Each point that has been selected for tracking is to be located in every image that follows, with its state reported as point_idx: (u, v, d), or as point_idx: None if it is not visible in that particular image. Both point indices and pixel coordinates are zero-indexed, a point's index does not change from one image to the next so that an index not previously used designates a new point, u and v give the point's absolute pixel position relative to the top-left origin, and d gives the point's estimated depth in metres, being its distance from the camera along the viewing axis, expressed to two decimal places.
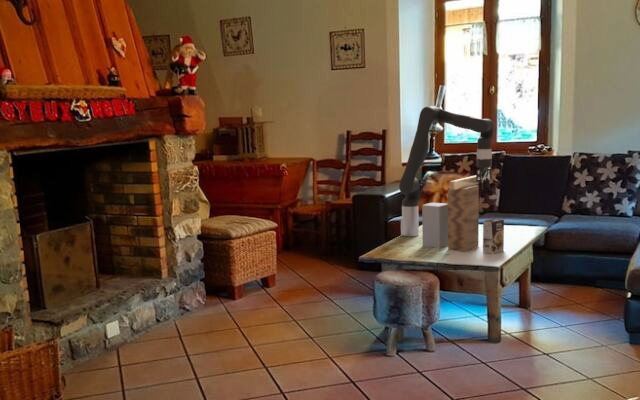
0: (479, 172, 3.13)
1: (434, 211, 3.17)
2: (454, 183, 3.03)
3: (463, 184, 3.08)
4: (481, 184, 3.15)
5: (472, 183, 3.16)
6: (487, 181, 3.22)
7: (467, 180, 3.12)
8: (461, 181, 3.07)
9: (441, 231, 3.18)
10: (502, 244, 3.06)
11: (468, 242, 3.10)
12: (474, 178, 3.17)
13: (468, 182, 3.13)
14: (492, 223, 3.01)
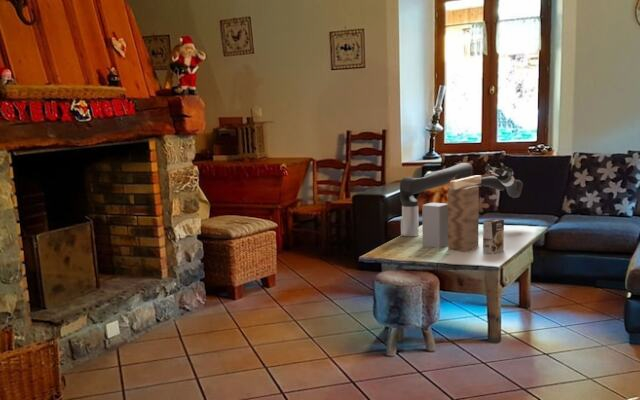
0: (512, 174, 3.41)
1: (434, 211, 3.17)
2: (454, 183, 3.03)
3: (463, 184, 3.08)
4: (504, 169, 3.38)
5: (472, 183, 3.16)
6: (490, 168, 3.44)
7: (467, 180, 3.12)
8: (461, 181, 3.07)
9: (441, 231, 3.18)
10: (502, 244, 3.06)
11: (468, 242, 3.10)
12: (474, 178, 3.17)
13: (468, 182, 3.13)
14: (492, 223, 3.01)
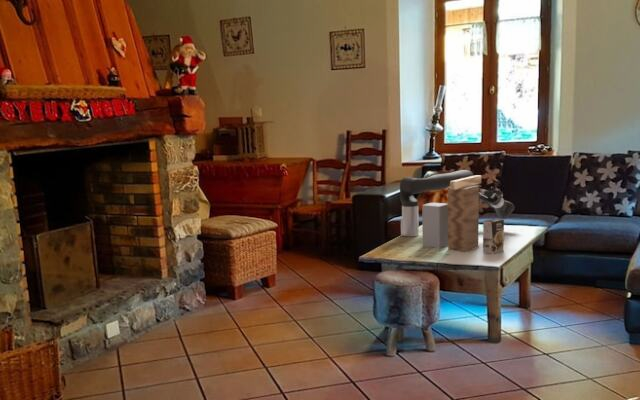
0: (501, 196, 3.33)
1: (434, 211, 3.17)
2: (454, 183, 3.03)
3: (463, 184, 3.08)
4: (494, 191, 3.29)
5: (472, 183, 3.16)
6: (479, 190, 3.35)
7: (467, 180, 3.12)
8: (461, 181, 3.07)
9: (441, 231, 3.18)
10: (502, 244, 3.06)
11: (468, 242, 3.10)
12: (474, 178, 3.17)
13: (468, 182, 3.13)
14: (492, 223, 3.01)
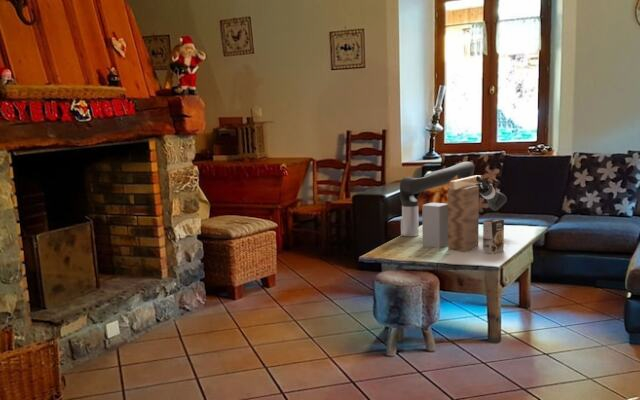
0: (491, 185, 3.22)
1: (434, 211, 3.17)
2: (454, 183, 3.03)
3: (463, 184, 3.08)
4: (479, 181, 3.20)
5: (472, 183, 3.16)
6: None
7: (467, 180, 3.12)
8: (461, 181, 3.07)
9: (441, 231, 3.18)
10: (502, 244, 3.06)
11: (468, 242, 3.10)
12: (474, 178, 3.17)
13: (468, 182, 3.13)
14: (492, 223, 3.01)
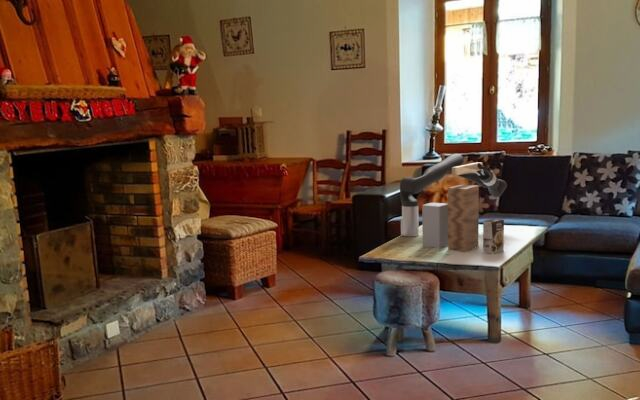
0: (491, 172, 3.33)
1: (434, 211, 3.17)
2: (456, 169, 3.13)
3: (464, 171, 3.19)
4: (480, 167, 3.31)
5: (473, 169, 3.27)
6: None
7: (468, 166, 3.22)
8: (463, 167, 3.17)
9: (441, 231, 3.18)
10: (502, 244, 3.06)
11: (468, 242, 3.10)
12: (475, 165, 3.28)
13: (469, 168, 3.23)
14: (492, 223, 3.01)
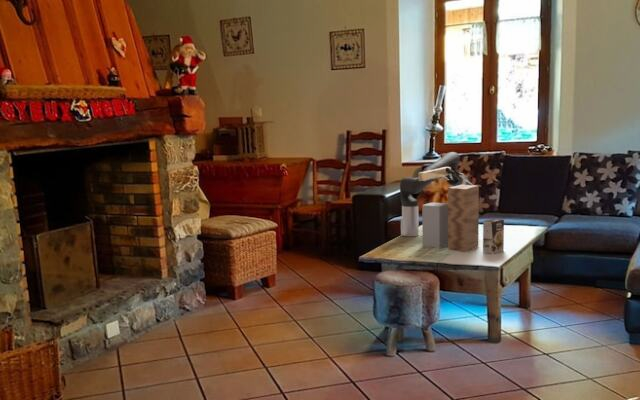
0: (460, 176, 3.27)
1: (434, 211, 3.17)
2: (422, 174, 3.08)
3: (431, 176, 3.13)
4: (449, 172, 3.26)
5: (441, 174, 3.21)
6: None
7: (436, 171, 3.17)
8: (430, 172, 3.12)
9: (441, 231, 3.18)
10: (502, 244, 3.06)
11: (468, 242, 3.10)
12: (443, 169, 3.22)
13: (437, 173, 3.18)
14: (492, 223, 3.01)
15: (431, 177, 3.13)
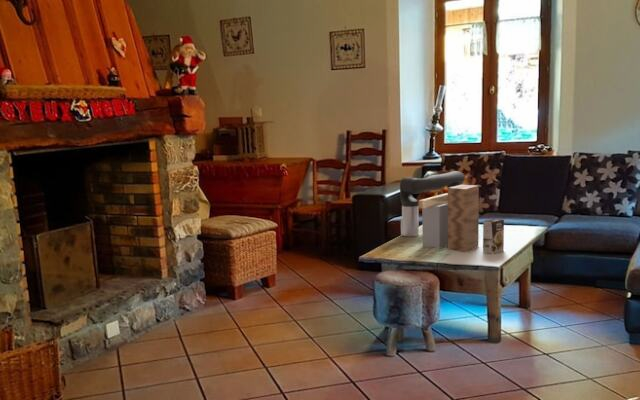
0: None
1: (434, 211, 3.17)
2: (423, 202, 3.10)
3: (432, 203, 3.16)
4: None
5: (442, 201, 3.23)
6: None
7: (436, 199, 3.19)
8: (430, 200, 3.14)
9: (441, 231, 3.18)
10: (502, 244, 3.06)
11: (468, 242, 3.10)
12: (444, 196, 3.25)
13: (437, 201, 3.20)
14: (492, 223, 3.01)
15: (431, 204, 3.15)
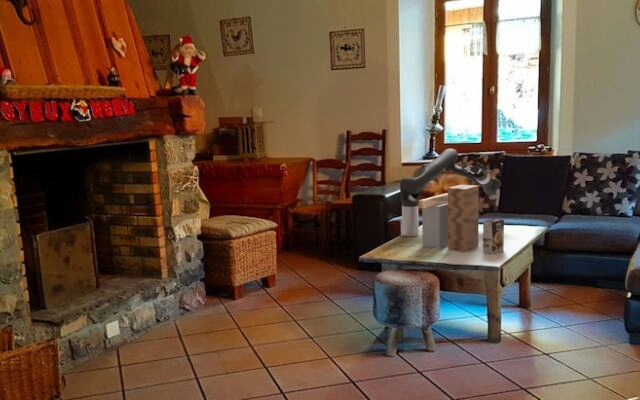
0: (487, 171, 3.40)
1: (434, 211, 3.17)
2: (423, 202, 3.10)
3: (432, 203, 3.16)
4: (479, 167, 3.36)
5: (442, 201, 3.23)
6: (465, 166, 3.43)
7: (436, 199, 3.19)
8: (430, 200, 3.14)
9: (441, 231, 3.18)
10: (502, 244, 3.06)
11: (468, 242, 3.10)
12: (444, 196, 3.25)
13: (437, 201, 3.20)
14: (492, 223, 3.01)
15: (431, 204, 3.15)
